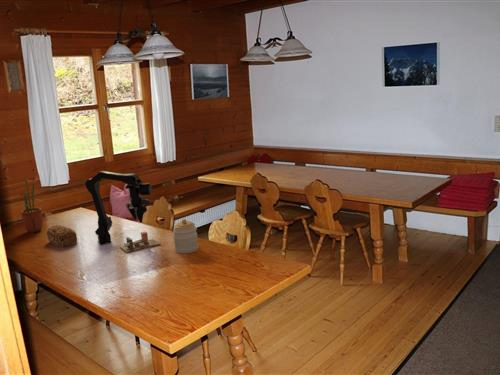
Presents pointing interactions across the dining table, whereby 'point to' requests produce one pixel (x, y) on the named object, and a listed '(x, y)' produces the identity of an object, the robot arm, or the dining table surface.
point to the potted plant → (31, 213)
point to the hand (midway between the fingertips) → (138, 221)
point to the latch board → (139, 245)
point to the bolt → (144, 239)
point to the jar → (185, 237)
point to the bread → (61, 236)
